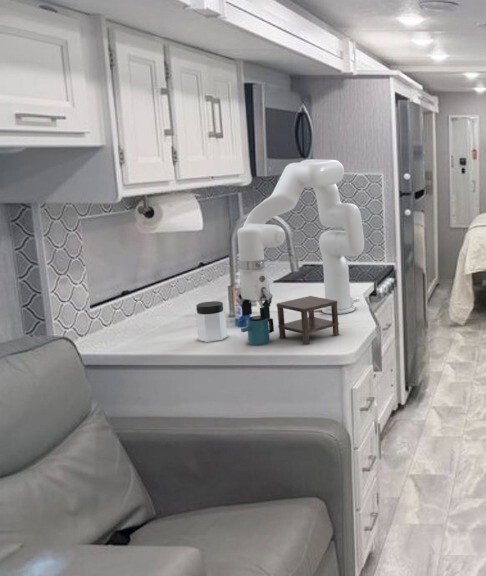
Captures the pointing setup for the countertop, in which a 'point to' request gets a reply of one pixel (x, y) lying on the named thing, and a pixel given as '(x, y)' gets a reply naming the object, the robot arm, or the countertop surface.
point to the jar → (211, 321)
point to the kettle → (258, 330)
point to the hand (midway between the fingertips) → (256, 317)
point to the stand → (307, 323)
